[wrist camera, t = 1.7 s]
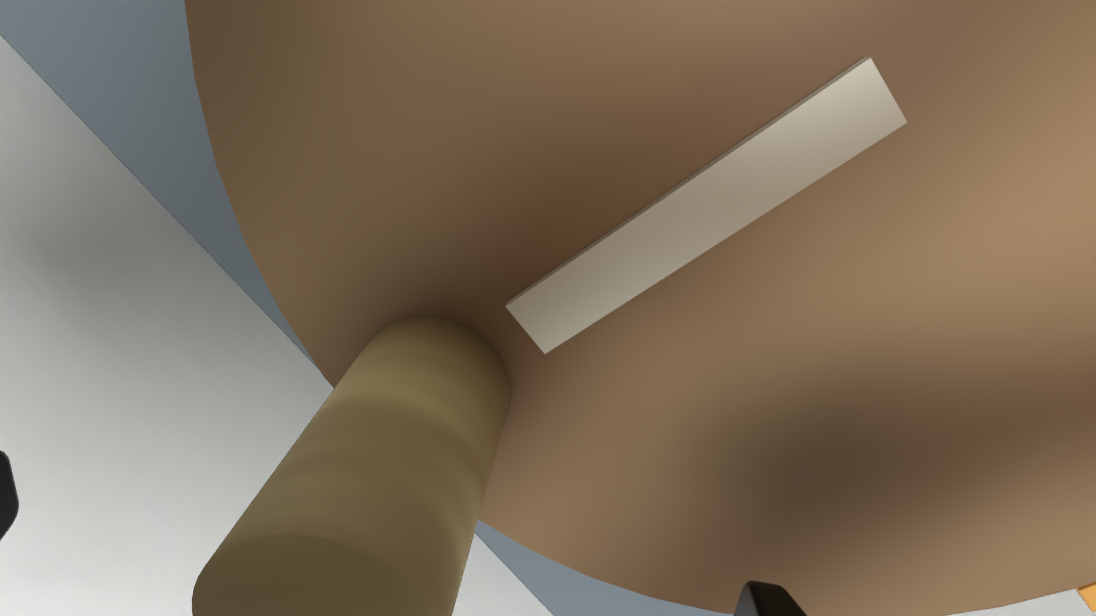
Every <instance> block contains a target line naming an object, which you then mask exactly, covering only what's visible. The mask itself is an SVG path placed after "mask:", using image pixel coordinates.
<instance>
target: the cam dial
mask: <svg viewBox="0 0 1096 616" xmlns="http://www.w3.org/2000/svg"><path fill="white" fill-rule="evenodd" d="M184 2H185V10H186V17H187V25H188V32H189V40H190V47H191V55H192V62H193V70H194V78H195V83H196V87H197V91H198V95H199V99H200V103H201V107H202V111H203V115H204V118H205V122H206V126H207V130H208V134H209V138H210V142H211V146H212V150H213V154H214V158H215V162H216V166H217V169H218V172H219V174H220V177H221V180H222V182H223V185H224V187H225V190H226V193H227V195H228V198H229V201H230V203H231V206H232V209H233V211H234V214H235V217H236V219H237V222H238V224H239V227H240V230H241V232H242V235H243V238H244V240H245V243H246V245H247V247H248V249H249V251H250V253H251V255H252V257H253V259H254V261H255V263H256V265H257V267H258V269H259V270H260V272H261V274H262V276H263V278H264V280H265V282H266V284H267V286H268V288H269V290H270V292H271V294H272V296H273V298H274V300H275V301H276V303H277V305H278V307H279V309H280V311H281V313H282V315H283V316H284V318H285V319H286V321H287V322H288V324H289V325H290V327H291V328H292V330H293V331H294V333H295V334H296V336H297V337H298V339H299V340H300V342H301V343H302V345H303V346H304V348H305V349H306V350H307V352H308V353H309V355H310V356H311V358H312V359H313V361H314V362H315V364H316V365H317V367H318V368H319V370H320V371H321V373H322V374H323V376H324V377H325V378H326V379H327V380H328V382H329V383H330V384H331V385H332V386H333V387H334V390H333V391H332V393H331V394H330V395H329V397H328V398H327V400H326V401H325V402H324V404H323V405H322V406H321V408H320V409H319V410H318V412H317V413H316V415H315V416H314V417H313V419H312V420H311V421H310V423H309V424H308V426H307V427H306V428H305V430H304V431H303V432H302V434H301V435H300V437H299V438H298V439H297V441H296V442H295V443H294V445H293V446H292V447H291V449H290V450H289V452H288V453H287V454H286V456H285V457H284V458H283V460H282V461H281V463H280V464H279V465H278V467H277V468H276V469H275V471H274V472H273V474H272V475H271V476H270V478H269V479H268V480H267V482H266V483H265V485H264V486H263V487H262V489H261V490H260V491H259V493H258V494H257V495H256V497H255V498H254V500H253V501H252V502H251V504H250V505H249V506H248V508H247V509H246V511H245V512H244V513H243V515H242V516H241V517H240V519H239V520H238V522H237V523H236V524H235V526H234V527H233V528H232V530H231V531H230V532H229V534H228V535H227V537H226V538H225V539H224V541H223V542H222V543H221V545H220V546H219V548H218V549H217V550H216V552H215V553H214V554H213V556H212V557H211V559H210V560H209V561H208V563H207V564H206V565H205V567H204V568H203V570H202V572H201V573H200V575H199V576H198V579H197V581H196V584H195V587H194V591H193V597H192V613H193V616H452V612H453V609H454V605H455V601H456V598H457V594H458V590H459V587H460V583H461V579H462V576H463V572H464V569H465V565H466V561H467V558H468V554H469V550H470V547H471V543H472V539H473V536H474V532H475V528H476V525H477V521H478V520H480V521H482V522H483V523H485V524H487V525H489V526H490V527H492V528H494V529H495V530H497V531H499V532H500V533H502V534H504V535H506V536H507V537H509V538H511V539H512V540H514V541H516V542H517V543H519V544H521V545H523V546H524V547H526V548H528V549H529V550H531V551H534V552H536V553H538V554H540V555H542V556H545V557H547V558H549V559H551V560H553V561H556V562H558V563H560V564H562V565H564V566H567V567H569V568H571V569H573V570H575V571H578V572H580V573H582V574H584V575H587V576H589V577H591V578H594V579H597V580H600V581H603V582H606V583H609V584H612V585H615V586H618V587H621V588H624V589H627V590H630V591H633V592H636V593H639V594H642V595H645V596H648V597H651V598H655V599H660V600H664V601H669V602H673V603H677V604H682V605H686V606H691V607H695V608H700V609H704V610H709V611H713V612H718V613H726V614H734V612H735V609H736V606H737V603H738V600H739V597H740V594H741V591H742V588H743V586H744V585H745V583H746V582H748V581H751V580H754V581H760V582H766V583H771V584H777V585H780V586H782V587H783V588H784V589H786V591H787V592H788V593H789V594H790V595H791V596H792V598H793V599H794V600H795V601H796V603H797V604H798V605H799V606H800V608H801V609H802V610H803V611H804V612H805V614H806V615H807V616H945V615H951V614H958V613H964V612H970V611H977V610H983V609H990V608H996V607H1002V606H1006V605H1010V604H1014V603H1018V602H1022V601H1026V600H1030V599H1034V598H1039V597H1043V596H1047V595H1051V594H1055V593H1059V592H1063V591H1067V590H1071V589H1075V588H1079V587H1081V586H1084V585H1087V584H1090V583H1093V582H1096V0H184Z"/></svg>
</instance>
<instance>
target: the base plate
mask: <svg viewBox="0 0 1096 616" xmlns="http://www.w3.org/2000/svg"><path fill="white" fill-rule="evenodd" d="M0 35H1V36H2V37H3V38H4V39H5V40H6V41H7V42H8V43H9V44H10V45H11V46H12V48H13V49H14V50H15V51H16V52H17V53H18V54H19V55H20V56H21V57H22V58H23V59H24V60H25V61H26V62H27V63H28V64H29V65H30V66H31V67H32V69H33V70H34V71H35V72H36V73H37V74H38V75H39V76H40V77H41V78H42V79H43V80H44V81H45V82H46V83H47V84H48V85H49V86H50V87H51V88H52V90H53V91H54V92H55V93H56V94H57V95H58V96H59V97H60V98H61V99H62V100H63V101H64V102H65V103H66V104H67V105H68V106H69V107H70V108H71V109H72V111H73V112H74V113H75V114H76V115H77V116H78V117H79V118H80V119H81V120H82V121H83V122H84V123H85V124H86V125H87V126H88V127H89V128H90V129H91V130H92V132H93V133H94V134H95V135H96V136H97V137H98V138H99V139H100V140H101V141H102V142H103V143H104V144H105V145H106V146H107V147H108V148H109V149H110V150H111V151H112V153H113V154H114V155H115V156H116V157H117V158H118V159H119V160H120V161H121V162H122V163H123V164H124V165H125V166H126V167H127V168H128V169H129V170H130V171H131V172H132V174H133V175H134V176H135V177H136V178H137V179H138V180H139V181H140V182H141V183H142V184H143V185H144V186H145V187H146V188H147V189H148V190H149V191H150V192H151V193H152V195H153V196H154V197H155V198H156V199H157V200H158V201H159V202H160V203H161V204H162V205H163V206H164V207H165V208H166V209H167V210H168V211H169V212H170V213H171V214H172V216H173V217H174V218H175V219H176V220H177V221H178V222H179V223H180V224H181V225H182V226H183V227H184V228H185V229H186V230H187V231H188V232H189V233H190V234H191V235H192V237H193V238H194V239H195V240H196V241H197V242H198V243H199V244H200V245H201V246H202V247H203V248H204V249H205V250H206V251H207V252H208V253H209V254H210V255H211V256H212V258H213V259H214V260H215V261H216V262H217V263H218V264H219V265H220V266H221V267H222V268H223V269H224V270H225V271H226V272H227V273H228V274H229V275H230V276H231V277H232V279H233V280H234V281H235V282H236V283H237V284H238V285H239V286H240V287H241V288H242V289H243V290H244V291H245V292H246V293H247V294H248V295H249V296H250V297H251V298H252V300H253V301H254V302H255V303H256V304H257V305H258V306H259V307H260V308H261V309H262V310H263V311H264V312H265V313H266V314H267V315H268V316H269V317H270V318H271V319H272V321H273V322H274V323H275V324H276V325H277V326H278V327H279V328H280V329H281V330H282V331H283V332H284V333H285V334H286V335H287V336H288V337H289V338H290V339H291V340H292V341H293V343H294V344H295V345H296V346H297V347H298V348H299V349H300V350H301V351H302V352H303V353H304V354H305V355H306V356H307V357H308V358H309V359H310V360H311V361H312V362H313V364H314V365H315V366H316V367H317V365H316V364H315V362H314V361H313V359H312V358H311V356H310V355H309V353H308V352H307V350H306V349H305V348H304V346H303V345H302V343H301V342H300V340H299V339H298V337H297V336H296V334H295V333H294V331H293V330H292V328H291V327H290V325H289V324H288V322H287V321H286V319H285V318H284V316H283V315H282V313H281V311H280V309H279V307H278V305H277V303H276V301H275V300H274V298H273V296H272V294H271V292H270V290H269V288H268V286H267V284H266V282H265V280H264V278H263V276H262V274H261V272H260V270H259V269H258V267H257V265H256V263H255V261H254V259H253V257H252V255H251V253H250V251H249V249H248V247H247V245H246V243H245V240H244V238H243V235H242V232H241V230H240V227H239V224H238V222H237V219H236V217H235V214H234V211H233V209H232V206H231V203H230V201H229V198H228V195H227V193H226V190H225V187H224V185H223V182H222V180H221V177H220V174H219V172H218V169H217V166H216V162H215V158H214V154H213V150H212V146H211V142H210V138H209V134H208V130H207V126H206V122H205V118H204V115H203V111H202V107H201V103H200V99H199V95H198V91H197V87H196V83H195V78H194V70H193V62H192V55H191V47H190V40H189V32H188V25H187V17H186V10H185V2H184V0H0ZM317 368H318V367H317ZM318 369H319V368H318ZM474 533H475V534H476V535H477V536H478V537H479V538H480V539H481V540H482V541H483V542H484V543H485V544H486V545H487V546H488V547H489V548H490V549H491V550H492V551H493V553H494V554H495V555H496V556H497V557H498V558H499V559H500V560H501V561H502V562H503V563H504V564H505V565H506V566H507V567H508V568H509V569H510V570H511V571H512V572H513V574H514V575H515V576H516V577H517V578H518V579H519V580H520V581H521V582H522V583H523V584H524V585H525V586H526V587H527V588H528V589H529V590H530V591H531V592H532V593H533V595H534V596H535V597H536V598H537V599H538V600H539V601H540V602H541V603H542V604H543V605H544V606H545V607H546V608H547V609H548V610H549V611H550V612H551V613H552V614H553V615H554V616H733V615H734V614H726V613H718V612H713V611H709V610H704V609H700V608H695V607H691V606H686V605H682V604H677V603H673V602H669V601H664V600H660V599H655V598H651V597H648V596H645V595H642V594H639V593H636V592H633V591H630V590H627V589H624V588H621V587H618V586H615V585H612V584H609V583H606V582H603V581H600V580H597V579H594V578H591V577H589V576H587V575H584V574H582V573H580V572H578V571H575V570H573V569H571V568H569V567H567V566H564V565H562V564H560V563H558V562H556V561H553V560H551V559H549V558H547V557H545V556H542V555H540V554H538V553H536V552H534V551H531V550H529V549H528V548H526V547H524V546H523V545H521V544H519V543H517V542H516V541H514V540H512V539H511V538H509V537H507V536H506V535H504V534H502V533H500V532H499V531H497V530H495V529H494V528H492V527H490V526H489V525H487V524H485V523H483V522H482V521H480V520H478V521H477V525H476V528H475V532H474ZM1075 590H1076V591H1077V592H1078V594H1079V595H1080V596H1081V598H1082V599H1083V600H1084V601H1085V603H1086V604H1087V605H1088V607H1089V608H1090V609H1091V611H1092V612H1094V611H1096V582H1093V583H1090V584H1087V585H1084V586H1081V587H1079V588H1075Z"/></svg>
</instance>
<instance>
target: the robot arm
mask: <svg viewBox="0 0 1096 616" xmlns="http://www.w3.org/2000/svg"><path fill="white" fill-rule="evenodd" d="M18 509H19V500H18V495H17V491H16V487H15V482H14V478H13V473H12V469H11V464H10V461H9V458H8V456H7V455H6V454H5V453H4V452H3V451H1V450H0V540H1V539H2V538H3V536H4V535H5V534H6V532H7V531H8V530H9V528H10V527H11V525H12V524H13V522H14V520H15V518H16V516H17V513H18ZM733 616H807V615H806V614H805V612H804V611H803V610H802V609H801V608H800V606H799V605H798V604H797V603H796V601H795V600H794V599H793V598H792V596H791V595H790V594H789V593H788V592H787V591H786V589H784V588H783V587H782V586H780V585H777V584H771V583H766V582H760V581H754V580H751V581H748V582H746V583H745V585H744V586H743V588H742V591H741V594H740V597H739V600H738V603H737V606H736V609H735V612H734V615H733Z"/></svg>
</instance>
